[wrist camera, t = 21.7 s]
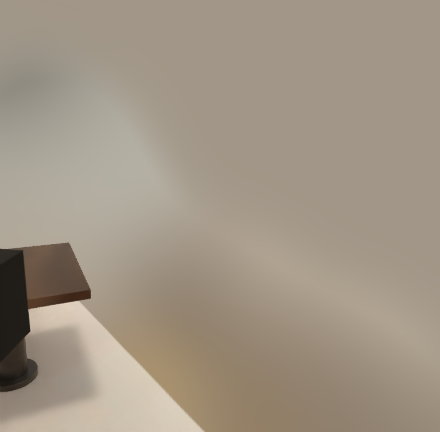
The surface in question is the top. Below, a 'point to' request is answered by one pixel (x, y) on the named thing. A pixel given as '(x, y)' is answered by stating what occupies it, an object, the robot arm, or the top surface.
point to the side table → (43, 301)
